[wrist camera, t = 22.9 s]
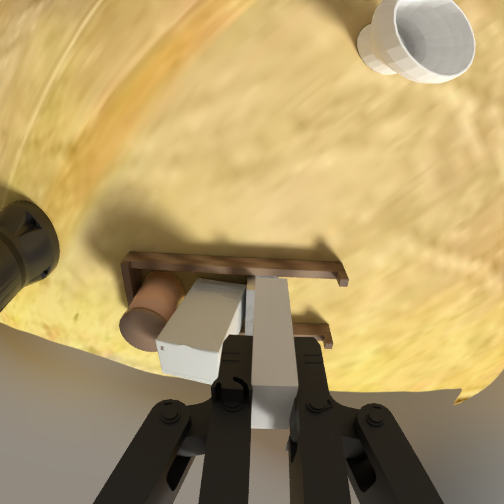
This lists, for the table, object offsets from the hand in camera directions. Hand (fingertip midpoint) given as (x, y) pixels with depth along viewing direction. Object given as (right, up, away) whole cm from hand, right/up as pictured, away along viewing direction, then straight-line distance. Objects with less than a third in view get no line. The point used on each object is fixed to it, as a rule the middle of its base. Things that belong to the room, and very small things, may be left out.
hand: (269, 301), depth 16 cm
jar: (-15, -4, +35) cm, 39 cm away
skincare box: (-5, -4, +35) cm, 35 cm away
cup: (+17, +30, +18) cm, 38 cm away
